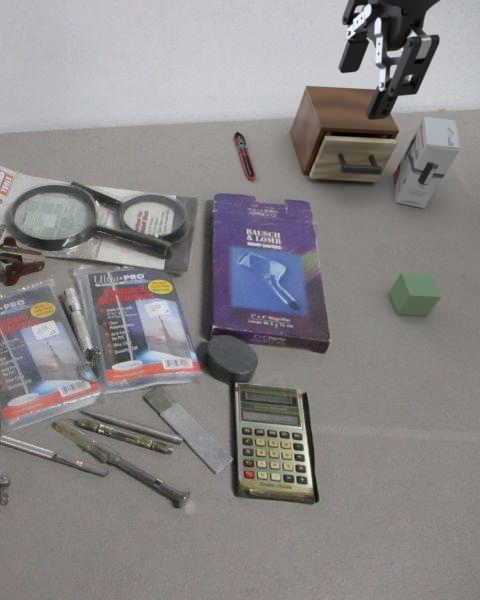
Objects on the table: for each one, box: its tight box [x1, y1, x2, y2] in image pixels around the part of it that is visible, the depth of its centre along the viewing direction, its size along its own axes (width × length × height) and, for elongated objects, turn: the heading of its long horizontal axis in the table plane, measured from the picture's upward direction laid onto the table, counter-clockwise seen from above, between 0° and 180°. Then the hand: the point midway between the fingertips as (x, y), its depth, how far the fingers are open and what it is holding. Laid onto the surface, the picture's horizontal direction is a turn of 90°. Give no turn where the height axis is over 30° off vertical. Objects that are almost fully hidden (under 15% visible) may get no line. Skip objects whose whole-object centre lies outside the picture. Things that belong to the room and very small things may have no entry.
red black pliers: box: [233, 131, 256, 180], centre depth 106 cm, size 2×14×1 cm, turn 1°
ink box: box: [393, 115, 461, 209], centre depth 97 cm, size 8×5×12 cm, turn 162°
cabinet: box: [289, 85, 400, 176], centre depth 104 cm, size 13×13×10 cm
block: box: [388, 272, 442, 317], centre depth 83 cm, size 4×4×4 cm
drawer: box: [308, 131, 398, 183], centre depth 100 cm, size 16×11×8 cm
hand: (361, 93), depth 66 cm, fingers open, 8 cm apart
